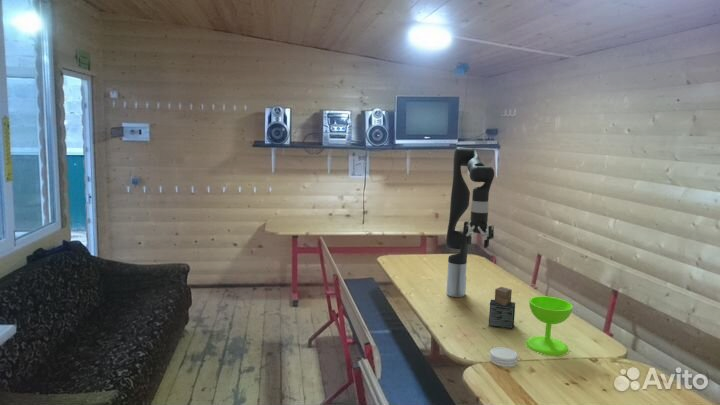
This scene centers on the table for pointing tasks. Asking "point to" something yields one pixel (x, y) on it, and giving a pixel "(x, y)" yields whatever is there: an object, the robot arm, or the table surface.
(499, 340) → the table surface
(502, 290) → the walnut block
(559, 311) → the wineglass
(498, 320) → the small box
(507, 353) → the white short cylinder
